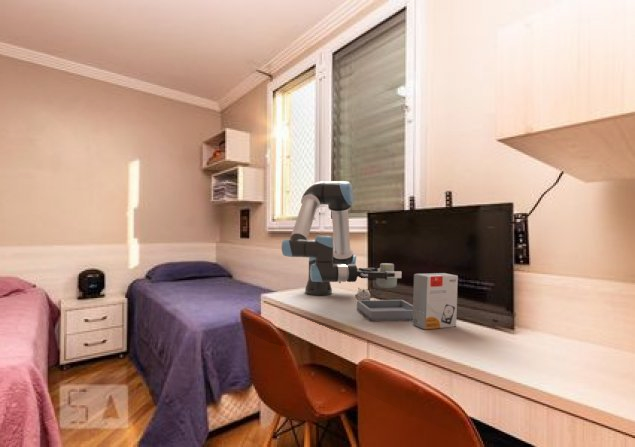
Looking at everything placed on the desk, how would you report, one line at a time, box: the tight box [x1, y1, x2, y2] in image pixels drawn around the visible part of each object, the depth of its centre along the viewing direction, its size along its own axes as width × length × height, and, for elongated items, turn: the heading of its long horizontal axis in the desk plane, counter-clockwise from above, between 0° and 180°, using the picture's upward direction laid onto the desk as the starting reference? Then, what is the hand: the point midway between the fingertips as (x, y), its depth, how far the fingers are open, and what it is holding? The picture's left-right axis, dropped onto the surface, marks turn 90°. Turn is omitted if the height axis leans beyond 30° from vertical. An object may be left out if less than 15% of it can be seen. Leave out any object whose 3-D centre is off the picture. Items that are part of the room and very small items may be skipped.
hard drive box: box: [411, 272, 459, 330], centre depth 132 cm, size 16×8×20 cm, turn 112°
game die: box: [354, 287, 373, 301], centre depth 165 cm, size 9×8×10 cm
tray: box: [356, 299, 413, 322], centre depth 148 cm, size 20×22×4 cm
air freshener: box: [375, 262, 398, 289], centre depth 147 cm, size 11×8×10 cm
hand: (396, 272), depth 148 cm, fingers closed on air freshener, 10 cm apart
